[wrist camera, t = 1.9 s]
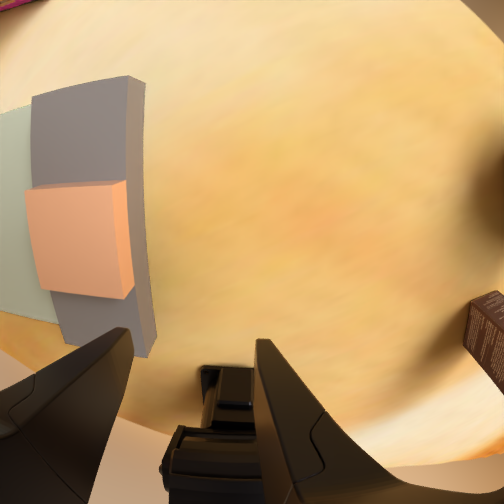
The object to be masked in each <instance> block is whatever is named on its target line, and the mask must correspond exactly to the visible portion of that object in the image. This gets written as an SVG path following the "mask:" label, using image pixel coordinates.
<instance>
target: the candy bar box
mask: <svg viewBox="0 0 504 504" xmlns="http://www.w3.org/2000/svg"><path fill="white" fill-rule="evenodd" d="M33 1H37V0H0V12H2V11H5V10H7V9H10V8H13V7H16V6H19V5H23V4H26V3H29V2H33Z"/></svg>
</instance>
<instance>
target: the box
mask: <svg viewBox="0 0 504 504" xmlns="http://www.w3.org/2000/svg"><path fill="white" fill-rule="evenodd" d="M463 346H464V347H465V348H466V349H467V350H468V352H469V353H470V354H471V355H472V356H473V358H474V359H475V360H476V361H477V362H478V364H479V365H480V366H481V367H482V368H483V370H484V371H485V372H486V373H487V374H488V376H489V377H490V378H491V379H492V381H493V382H494V383H495V384H496V386H497V387H498V388H499V390H500V391H501V392H502V393H503V395H504V295H502V294H501V293H500V292H499V291H494V292H491V293H489V294H486V295H484V296H482V297H479V298H477V299H475V300H473V301H471V306H470V313H469V318H468V324H467V329H466V334H465V339H464V343H463Z"/></svg>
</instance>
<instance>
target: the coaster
mask: <svg viewBox="0 0 504 504" xmlns="http://www.w3.org/2000/svg"><path fill="white" fill-rule="evenodd" d="M24 194H25V204H26V212H27V220H28V226H29V233H30V239H31V245H32V250H33V255H34V260H35V265H36V269H37V274H38V278H39V282H40V286H41V289H45V290H52V291H59V292H66V293H73V294H81V295H89V296H97V297H106V298H115V299H125V297H126V296H127V295H128V293H129V292H130V291H131V289H132V288H133V287H134V285H135V283H134V275H133V267H132V258H131V248H130V237H129V225H128V210H127V190H126V180H111V181H90V182H73V183H59V184H46V185H40V186H37V187H34V188H31V189H28V190H25V191H24Z"/></svg>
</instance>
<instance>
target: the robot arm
mask: <svg viewBox="0 0 504 504" xmlns="http://www.w3.org/2000/svg"><path fill="white" fill-rule="evenodd" d="M133 358H134V345H133V341H132V336H131V332H130V329H128V328H125V327H115V328H113V329H112V330H110V331H108V332H106V333H105V334H103V335H101V336H99V337H98V338H96V339H94V340H92V341H90V342H89V343H87V344H85V345H83V346H82V347H80V348H78V349H76V350H75V351H73V352H71V353H69V354H68V355H66V356H64V357H62V358H61V359H59V360H57V361H55V362H54V363H52V364H50V365H48V366H46V367H45V368H43V369H41V370H39V371H38V372H36V374H33V375H31V376H29V377H27V378H26V379H23V380H22V381H20V382H18V383H16V384H14V385H12V386H10V387H8V388H6V389H4V390H2V391H0V504H88V501H89V498H90V495H91V491H92V488H93V485H94V481H95V478H96V475H97V472H98V468H99V465H100V462H101V459H102V456H103V453H104V450H105V447H106V444H107V441H108V438H109V435H110V432H111V429H112V426H113V424H114V421H115V418H116V415H117V413H118V410H119V407H120V405H121V402H122V399H123V396H124V393H125V389H126V385H127V381H128V377H129V373H130V369H131V365H132V362H133ZM206 371H208V372H206ZM201 383H202V394H203V404H204V408H203V414H202V420H201V426H200V428H195V427H186V426H183V425H178V427H177V429H176V432H174V434H173V437H172V439H171V441H170V444H169V446H168V448H167V450H166V452H165V455H164V457H163V459H162V464H161V465H160V466H159V472H160V474H161V475H162V476H163V484H164V488H165V490H166V491H167V492H169V504H504V487H503V488H501V489H499V490H497V491H494V492H490V493H482V494H471V493H462V492H455V491H447V490H441V489H435V488H429V487H424V486H419V485H414V484H409V483H407V482H404V481H402V480H400V479H398V478H396V477H395V476H393V475H392V474H391V473H389V472H388V471H387V470H386V469H384V468H383V467H382V466H381V465H380V464H379V463H378V462H376V461H375V460H374V459H373V458H372V457H371V456H370V455H368V454H367V453H366V452H365V451H364V450H363V449H362V448H361V447H360V446H358V445H357V444H356V443H355V442H354V441H353V440H352V439H351V438H350V437H349V436H348V435H347V434H346V433H345V432H344V431H343V430H342V429H341V428H340V426H339V425H338V424H337V423H336V422H335V421H334V420H333V418H332V417H331V416H330V415H329V413H328V412H327V411H325V409H324V407H323V406H322V405H321V404H320V402H319V401H318V400H317V399H316V397H315V396H314V395H313V394H312V392H311V391H310V390H309V389H308V387H307V386H306V385H305V383H304V382H303V381H302V380H301V378H300V377H299V376H298V375H297V373H296V372H295V371H294V369H293V368H292V367H291V366H290V364H289V363H288V362H287V360H286V359H285V358H284V357H283V355H282V354H281V353H280V351H279V350H278V349H277V347H276V346H275V345H274V343H273V342H272V341H271V340H270V339H256V344H255V359H254V368H233V367H217V366H203V367H202V368H201Z"/></svg>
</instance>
